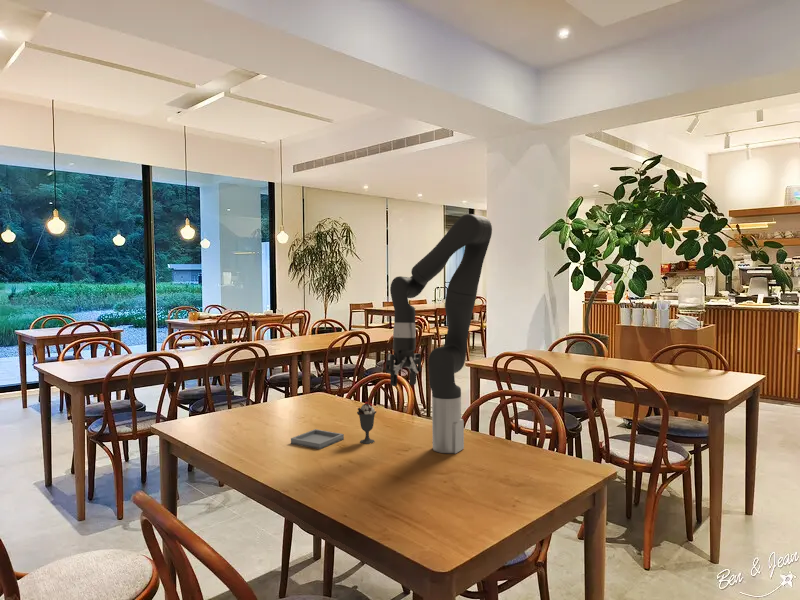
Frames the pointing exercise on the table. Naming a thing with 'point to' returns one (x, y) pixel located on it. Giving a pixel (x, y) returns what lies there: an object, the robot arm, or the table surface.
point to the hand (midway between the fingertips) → (403, 385)
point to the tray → (317, 439)
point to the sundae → (366, 420)
